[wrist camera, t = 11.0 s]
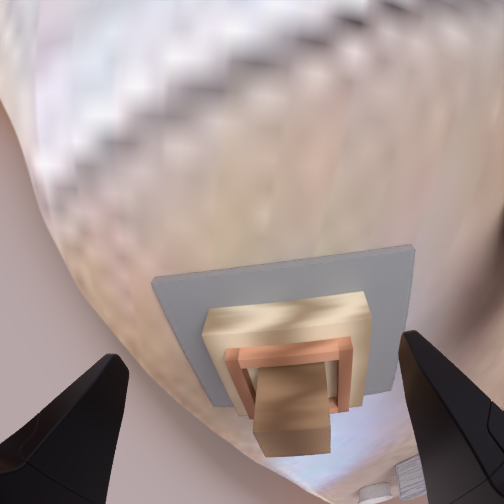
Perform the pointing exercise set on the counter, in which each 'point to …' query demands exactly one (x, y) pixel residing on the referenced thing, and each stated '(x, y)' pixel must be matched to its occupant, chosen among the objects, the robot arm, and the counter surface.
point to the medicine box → (410, 478)
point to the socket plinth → (292, 345)
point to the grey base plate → (294, 288)
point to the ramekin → (375, 493)
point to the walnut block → (292, 410)
